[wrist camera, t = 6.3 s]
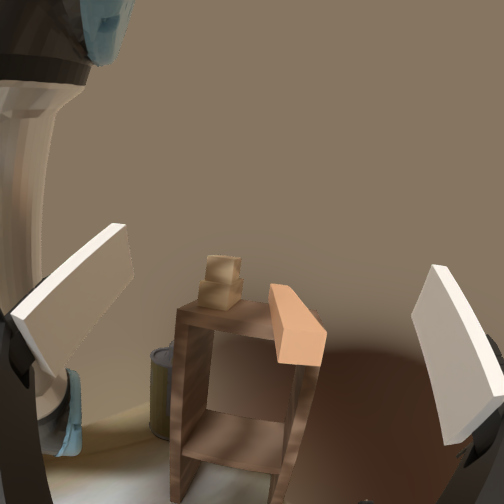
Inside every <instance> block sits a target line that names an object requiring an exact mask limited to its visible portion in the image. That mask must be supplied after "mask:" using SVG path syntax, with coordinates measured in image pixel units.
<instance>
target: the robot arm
mask: <svg viewBox="0 0 504 504" xmlns="http://www.w3.org/2000/svg"><path fill="white" fill-rule="evenodd" d="M134 3H135V0H0V504H53V502H52V498H51V494H50V490H49V486H48V482H47V477H46V472H45V467H44V462H43V457H42V454H48V455H53V456H56V457H60V456H76V455H78V454H79V453H80V452H81V449H82V426H81V423H82V422H81V419H82V413H81V385H80V377H79V374H78V373H77V372H76V371H73V370H70V369H68V368H65V364H66V363H67V361H68V360H69V359H70V357H71V356H72V355H73V353H74V352H75V351H76V349H77V348H78V347H79V345H80V344H81V343H82V341H83V340H84V338H85V337H86V336H87V335H88V333H89V332H90V331H91V330H92V328H93V327H94V326H95V324H96V323H97V322H98V321H99V319H100V318H101V317H102V316H103V314H104V313H105V312H106V311H107V309H108V308H109V307H110V306H111V304H112V303H113V302H114V301H115V299H116V298H117V297H118V296H119V295H120V293H121V292H122V291H123V290H124V289H125V287H126V286H127V285H128V284H129V283H130V281H131V280H132V279H133V278H134V271H133V265H132V259H131V253H130V247H129V241H128V235H127V228H126V224H116V223H112V224H111V225H109V226H108V227H107V228H106V229H104V230H103V231H102V232H100V233H99V234H98V235H97V236H96V237H94V238H93V239H92V240H90V241H89V242H88V243H87V244H86V245H85V246H83V247H82V248H81V249H80V250H78V251H77V252H76V253H75V254H74V255H72V256H71V257H70V258H69V259H68V260H67V261H66V262H65V263H63V264H62V265H61V266H60V267H59V268H58V269H56V270H55V271H54V272H53V273H52V274H50V275H49V276H47V277H45V278H43V279H42V268H41V232H42V231H41V230H42V210H43V197H44V186H45V176H46V169H47V162H48V155H49V149H50V143H51V137H52V132H53V127H54V122H55V118H56V114H57V112H58V111H59V110H60V108H61V107H62V106H64V105H65V104H66V103H67V102H69V101H70V100H71V99H73V98H74V97H75V96H77V95H78V94H79V93H81V92H82V91H83V90H84V87H85V85H86V81H87V78H88V75H89V72H90V69H91V66H92V65H93V64H95V65H97V66H103V65H109V64H111V63H113V62H114V61H115V60H116V58H117V56H118V54H119V51H120V46H121V43H122V40H123V37H124V35H125V32H126V29H127V25H128V22H129V19H130V16H131V13H132V9H133V6H134ZM411 317H412V320H413V323H414V326H415V329H416V332H417V335H418V338H419V342H420V345H421V348H422V352H423V355H424V358H425V362H426V366H427V369H428V373H429V377H430V380H431V385H432V389H433V393H434V397H435V401H436V406H437V410H438V414H439V420H440V425H441V430H442V435H443V441H444V445H450V444H455V443H461V442H463V441H464V440H465V439H466V438H467V437H468V436H470V434H472V436H473V441H472V442H471V443H470V444H469V445H468V446H466V447H465V448H464V449H463V450H461V451H460V452H459V453H458V454H457V456H456V457H457V458H458V457H460V456H461V455H462V454H463V453H465V454H464V456H463V457H462V459H461V461H460V463H459V465H458V467H457V469H456V471H455V473H454V474H453V476H452V478H451V480H450V481H449V483H448V485H447V486H446V488H445V490H444V491H443V493H442V495H441V496H440V498H439V499H438V501H437V502H436V504H504V359H503V357H501V355H502V354H501V352H500V350H499V348H498V346H497V344H496V343H495V342H494V341H493V339H491V337H490V336H489V335H486V334H485V333H484V331H483V329H482V328H481V326H480V324H479V322H478V320H477V318H476V316H475V314H474V312H473V311H472V309H471V307H470V305H469V303H468V302H467V300H466V298H465V296H464V295H463V293H462V291H461V289H460V288H459V286H458V285H457V283H456V281H455V279H454V278H453V276H452V275H451V273H450V271H449V270H448V268H447V267H446V266H440V265H433V264H432V266H431V268H430V271H429V274H428V276H427V279H426V281H425V284H424V286H423V289H422V291H421V294H420V296H419V298H418V301H417V303H416V305H415V308H414V310H413V312H412V314H411Z"/></svg>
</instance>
